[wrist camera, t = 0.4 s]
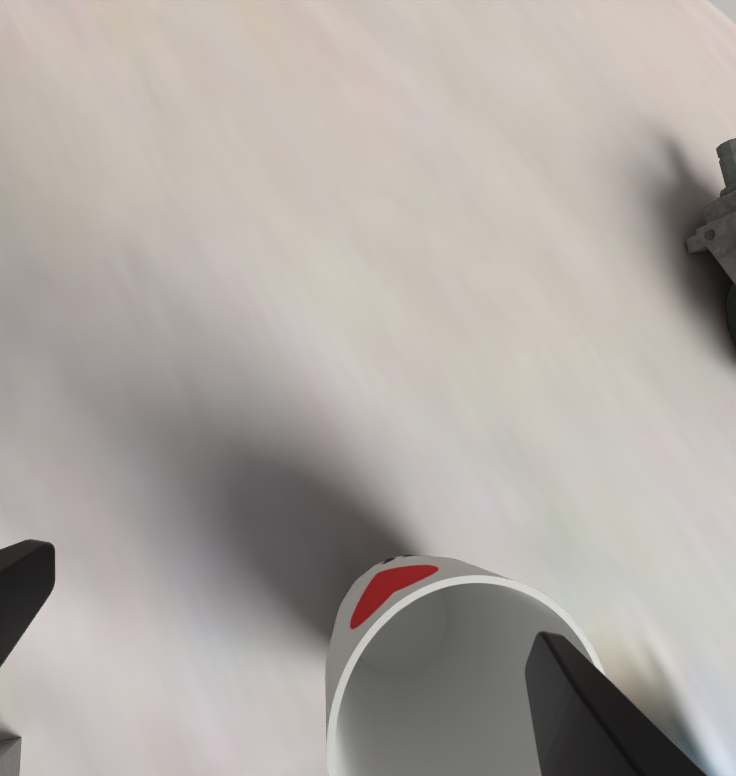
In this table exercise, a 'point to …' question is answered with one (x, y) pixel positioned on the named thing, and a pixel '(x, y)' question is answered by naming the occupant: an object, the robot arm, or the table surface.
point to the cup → (436, 671)
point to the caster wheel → (722, 227)
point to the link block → (10, 757)
